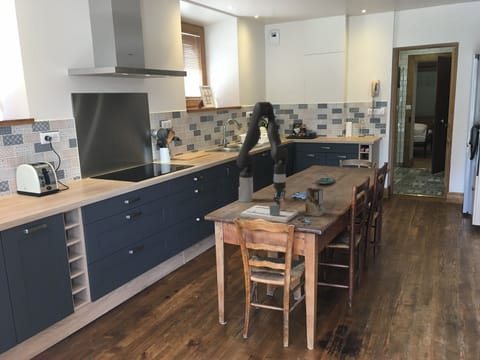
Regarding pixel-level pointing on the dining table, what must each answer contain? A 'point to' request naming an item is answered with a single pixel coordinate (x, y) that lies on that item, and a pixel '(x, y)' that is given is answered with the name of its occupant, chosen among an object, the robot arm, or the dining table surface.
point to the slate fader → (275, 209)
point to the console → (264, 213)
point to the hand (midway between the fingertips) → (279, 207)
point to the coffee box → (314, 201)
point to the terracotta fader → (281, 204)
